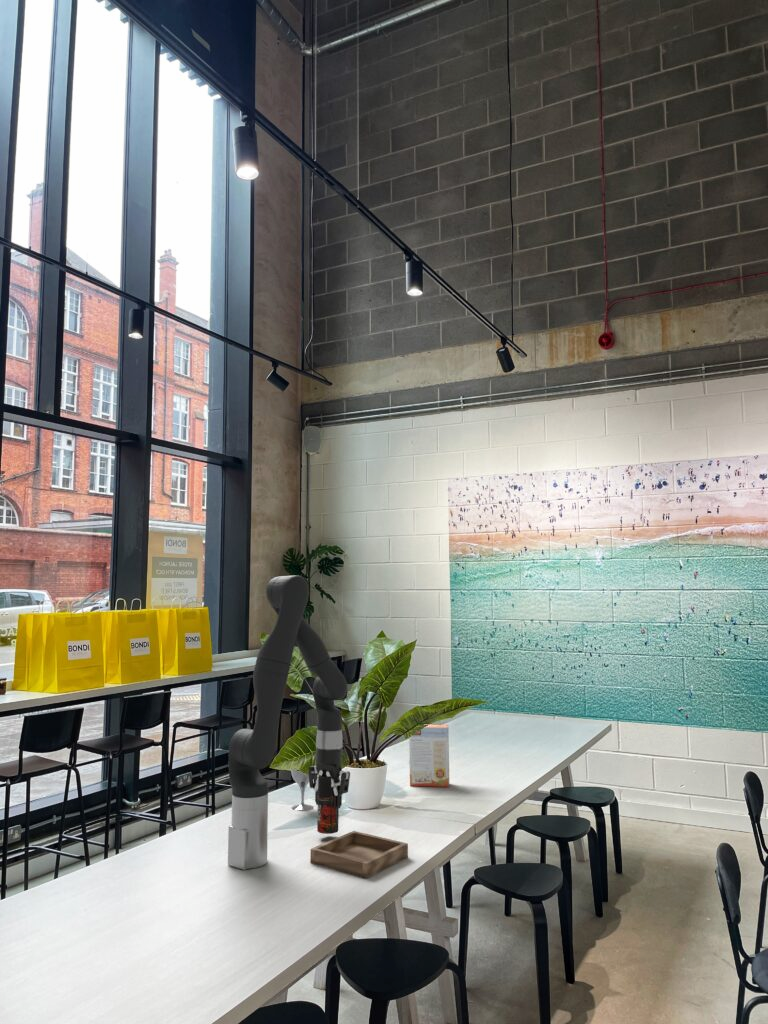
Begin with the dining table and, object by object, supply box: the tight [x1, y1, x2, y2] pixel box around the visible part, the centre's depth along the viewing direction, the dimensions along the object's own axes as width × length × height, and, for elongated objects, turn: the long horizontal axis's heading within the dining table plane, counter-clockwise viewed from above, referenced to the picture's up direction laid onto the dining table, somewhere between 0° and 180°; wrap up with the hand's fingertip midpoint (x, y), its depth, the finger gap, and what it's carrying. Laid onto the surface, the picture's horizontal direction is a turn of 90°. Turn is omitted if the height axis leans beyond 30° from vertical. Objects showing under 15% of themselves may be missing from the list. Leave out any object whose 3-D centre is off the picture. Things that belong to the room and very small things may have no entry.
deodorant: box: [316, 775, 340, 835], centre depth 214 cm, size 6×6×15 cm
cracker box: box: [408, 724, 450, 788], centre depth 272 cm, size 14×6×21 cm, turn 82°
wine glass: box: [290, 769, 315, 812], centre depth 244 cm, size 8×8×15 cm
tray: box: [310, 830, 409, 879], centre depth 196 cm, size 18×18×4 cm
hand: (328, 806), depth 214 cm, fingers closed on deodorant, 6 cm apart
